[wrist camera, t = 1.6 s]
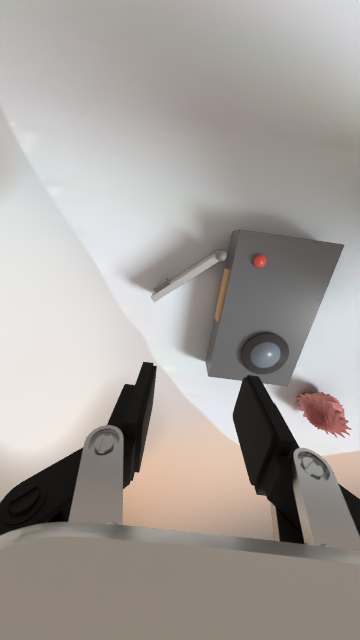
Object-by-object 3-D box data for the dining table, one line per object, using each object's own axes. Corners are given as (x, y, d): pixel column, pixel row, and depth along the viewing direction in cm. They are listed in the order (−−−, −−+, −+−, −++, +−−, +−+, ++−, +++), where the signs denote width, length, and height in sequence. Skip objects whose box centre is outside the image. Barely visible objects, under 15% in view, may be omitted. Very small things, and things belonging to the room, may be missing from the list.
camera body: (322, 244, 26) (348, 244, 22) (276, 371, 33) (289, 388, 29) (230, 231, 26) (238, 229, 22) (203, 361, 33) (206, 378, 29)
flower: (374, 411, 28) (357, 438, 26) (344, 429, 34) (327, 452, 32) (318, 372, 33) (300, 392, 31) (300, 393, 39) (283, 412, 36)
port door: (223, 255, 27) (228, 257, 23) (158, 296, 29) (154, 303, 25) (217, 245, 26) (222, 245, 23) (152, 287, 29) (147, 293, 25)
